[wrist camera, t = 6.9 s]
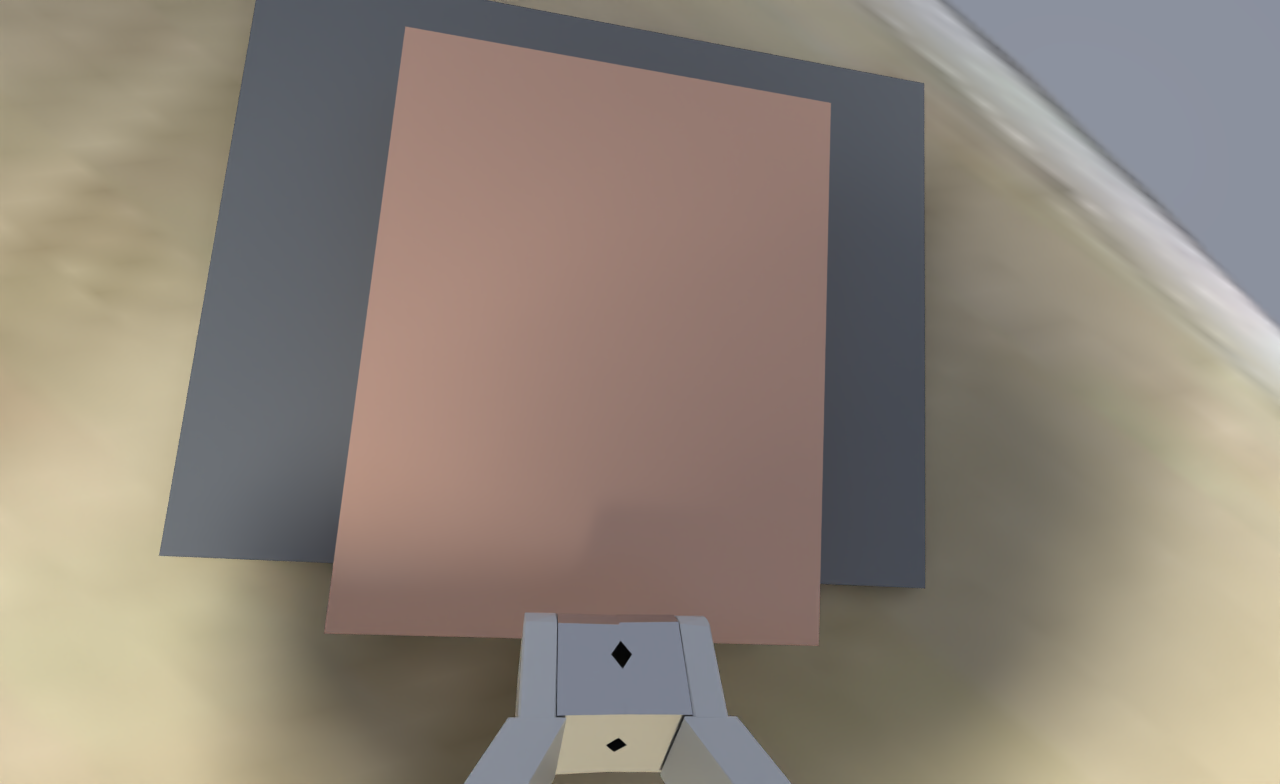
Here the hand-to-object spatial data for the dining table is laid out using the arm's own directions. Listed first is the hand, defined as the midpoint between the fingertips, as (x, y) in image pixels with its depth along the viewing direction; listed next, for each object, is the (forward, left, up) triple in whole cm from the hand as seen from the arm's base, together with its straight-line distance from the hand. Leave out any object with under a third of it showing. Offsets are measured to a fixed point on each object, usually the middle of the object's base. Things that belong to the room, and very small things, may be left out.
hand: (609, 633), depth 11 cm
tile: (0, -1, -5) cm, 5 cm away
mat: (-1, +8, -7) cm, 11 cm away
